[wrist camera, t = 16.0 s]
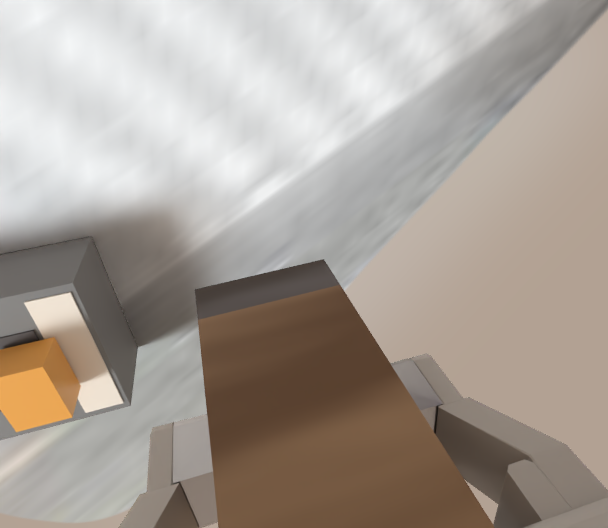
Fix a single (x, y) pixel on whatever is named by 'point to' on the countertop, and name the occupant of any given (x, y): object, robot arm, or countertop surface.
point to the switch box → (69, 322)
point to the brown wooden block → (316, 414)
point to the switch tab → (36, 384)
